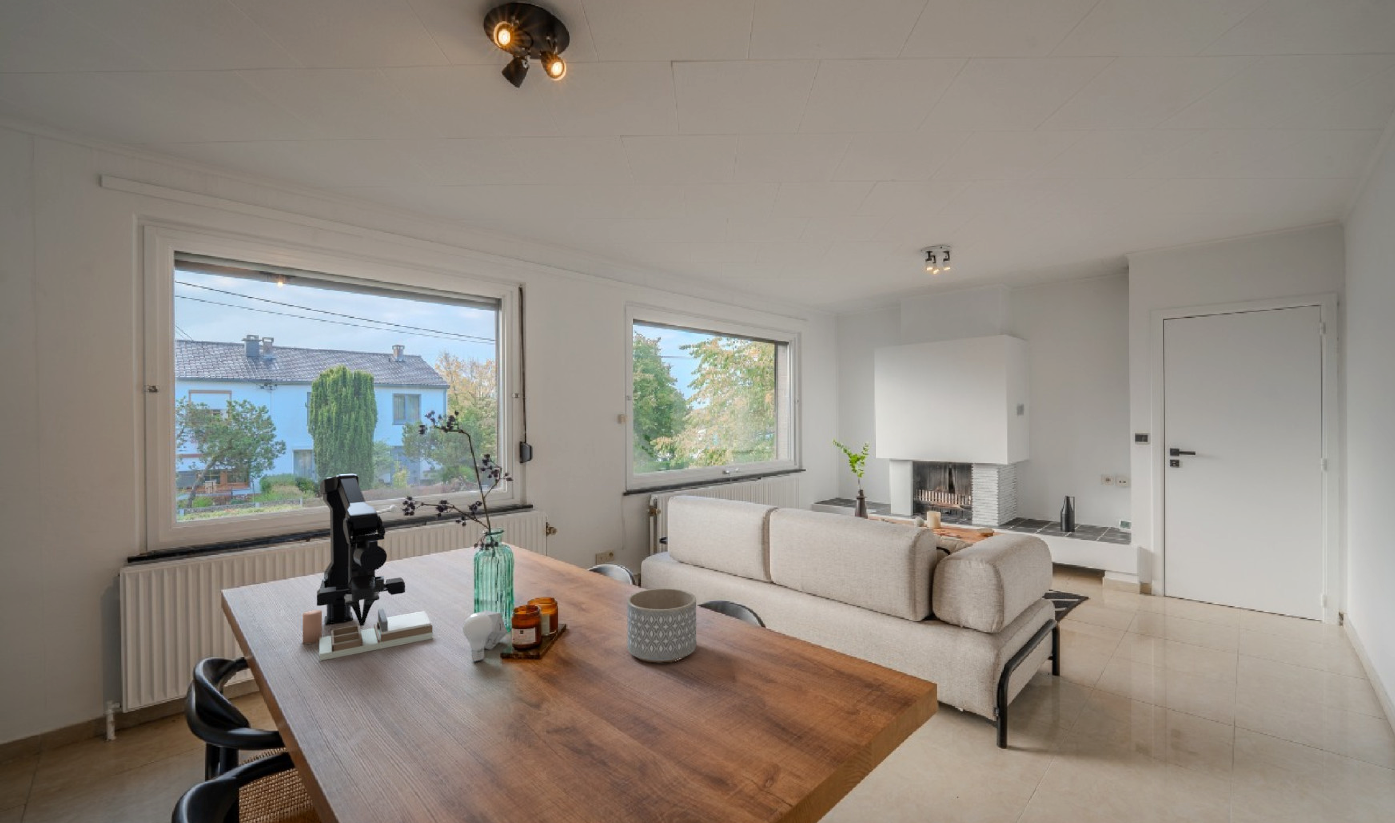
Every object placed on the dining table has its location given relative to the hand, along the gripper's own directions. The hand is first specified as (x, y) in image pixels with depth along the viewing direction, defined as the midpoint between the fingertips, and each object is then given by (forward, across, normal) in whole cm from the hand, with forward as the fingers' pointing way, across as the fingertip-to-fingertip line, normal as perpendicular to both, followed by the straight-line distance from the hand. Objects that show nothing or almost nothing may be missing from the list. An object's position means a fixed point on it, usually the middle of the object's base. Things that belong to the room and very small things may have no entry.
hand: (361, 625), depth 142 cm
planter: (+5, +60, -45) cm, 75 cm away
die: (+5, +26, -18) cm, 32 cm away
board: (+4, +3, 0) cm, 6 cm away
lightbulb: (+5, +22, -26) cm, 35 cm away
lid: (+1, +9, 0) cm, 10 cm away
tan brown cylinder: (+5, -10, +9) cm, 15 cm away
